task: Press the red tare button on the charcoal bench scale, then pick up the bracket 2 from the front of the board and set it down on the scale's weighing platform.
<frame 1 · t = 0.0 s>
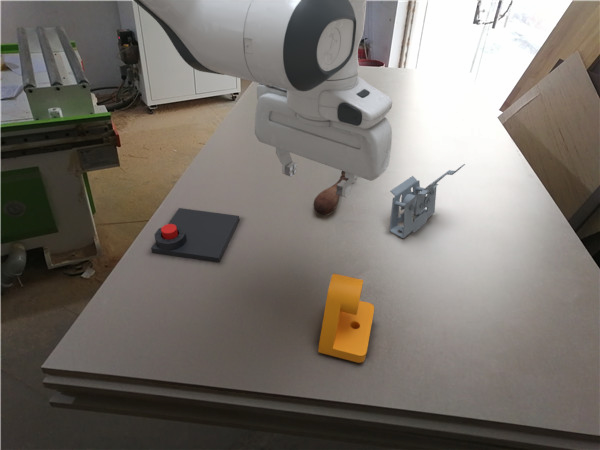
hand: (315, 183, 60), 23 cm above the table, tool pointing down, fingers open, 8 cm apart
bracket: (412, 224, 91), on the table
chisel: (351, 176, 107), on the table
bracket 2: (346, 334, 67), on the table
scale: (198, 235, 86), on the table
tare button: (169, 231, 81), point 3 cm above the table, slide at 0.1 cm
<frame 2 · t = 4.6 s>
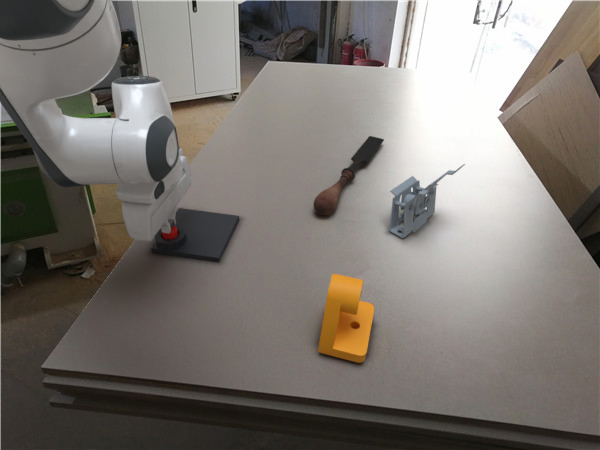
hand: (169, 228, 80), 4 cm above the table, tool pointing down, fingers closed, pressing on tare button
tare button: (169, 232, 81), point 3 cm above the table, slide at 0.0 cm, touching gripper
everything else where it was.
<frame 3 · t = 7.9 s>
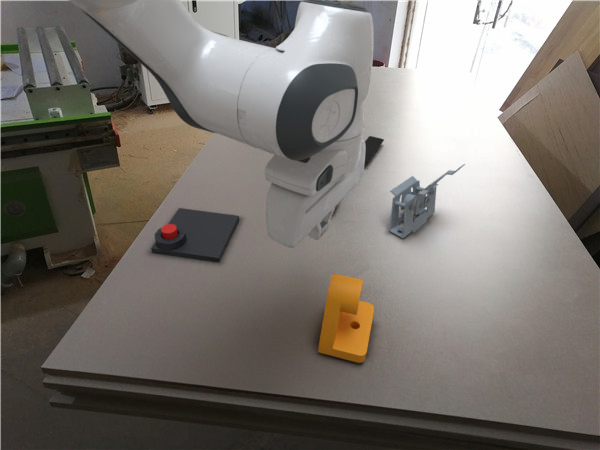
hand: (318, 233, 58), 18 cm above the table, tool pointing down, fingers closed
tare button: (169, 231, 81), point 3 cm above the table, slide at 0.1 cm
everything else where it was.
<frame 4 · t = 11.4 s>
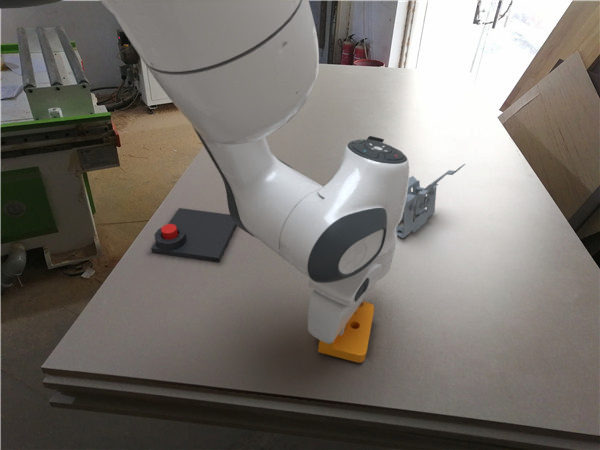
hand: (349, 316, 64), 5 cm above the table, tool pointing down, fingers closed on bracket 2, 5 cm apart
bracket 2: (346, 334, 67), on the table, touching gripper
everything else where it was.
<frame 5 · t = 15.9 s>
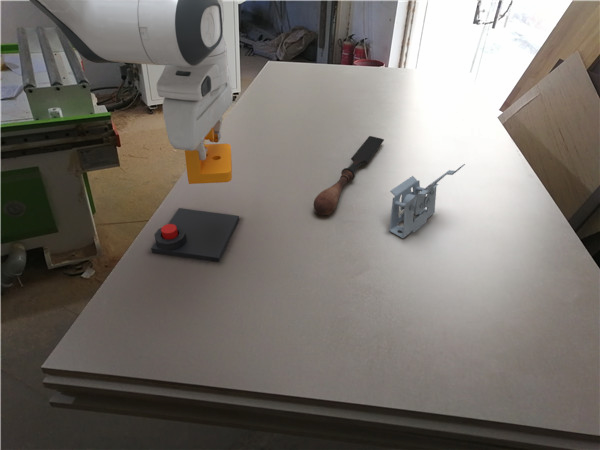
hand: (208, 149, 71), 21 cm above the table, tool pointing down, fingers closed on bracket 2, 5 cm apart
bracket 2: (212, 171, 74), point 17 cm above the table, touching gripper
everything else where it was.
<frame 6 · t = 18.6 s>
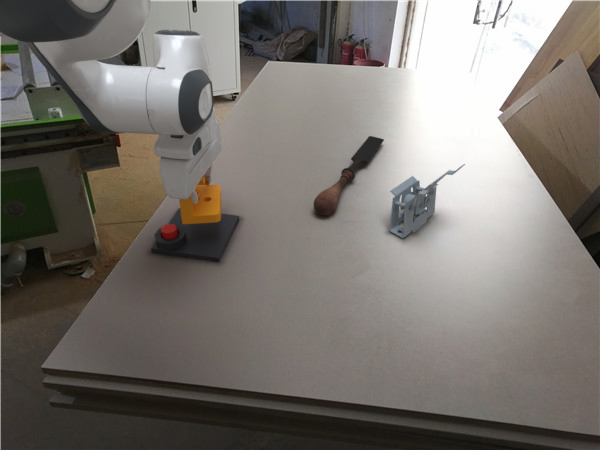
hand: (200, 192, 80), 10 cm above the table, tool pointing down, fingers closed on bracket 2, 5 cm apart
bracket 2: (203, 211, 83), point 5 cm above the table, touching gripper
everything else where it was.
when the fingers open (6 cm above the table, at t = 20.5 s): bracket 2 stays where it is, resting on scale.
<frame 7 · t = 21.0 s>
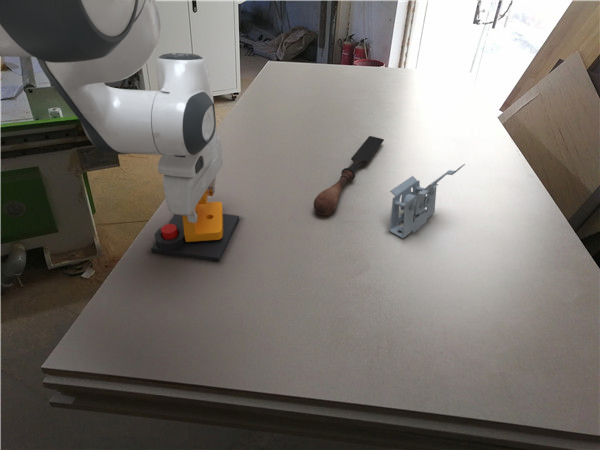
hand: (202, 206, 82), 7 cm above the table, tool pointing down, fingers open, 8 cm apart
bracket 2: (205, 227, 86), point 1 cm above the table, touching scale
everything else where it was.
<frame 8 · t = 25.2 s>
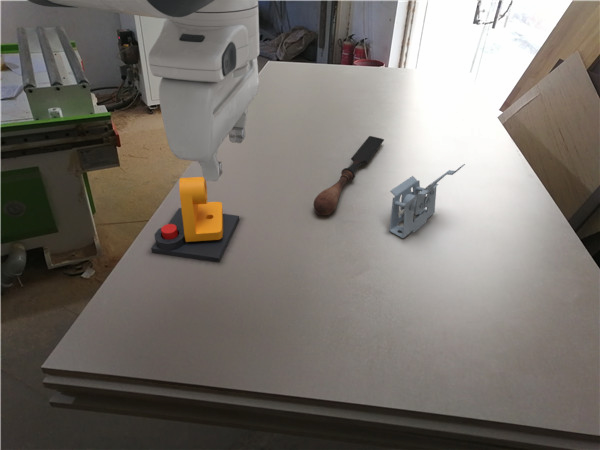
hand: (226, 157, 49), 31 cm above the table, tool pointing down, fingers open, 8 cm apart
nothing on the table moved.
at the end: tare button pushed in 1.1 cm at the most during the clip, back to where it started at the end; bracket 2 inside the target area on the scale (0.1 cm from its centre), point 1.0 cm above the scale's base; bracket 2 touching scale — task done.
